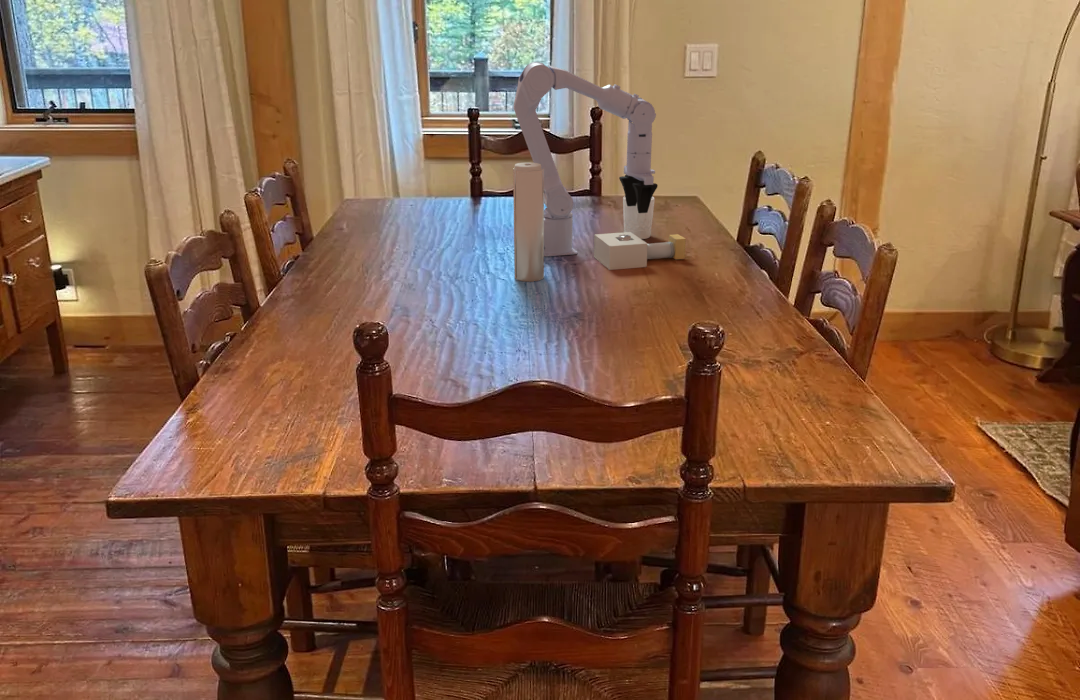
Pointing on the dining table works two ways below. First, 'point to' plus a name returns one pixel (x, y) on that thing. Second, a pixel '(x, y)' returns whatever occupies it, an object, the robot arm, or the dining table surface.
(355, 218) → the dining table surface
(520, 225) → the white tall cylinder
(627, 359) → the dining table surface
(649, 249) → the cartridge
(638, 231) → the white cup
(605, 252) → the housing
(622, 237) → the plunger
